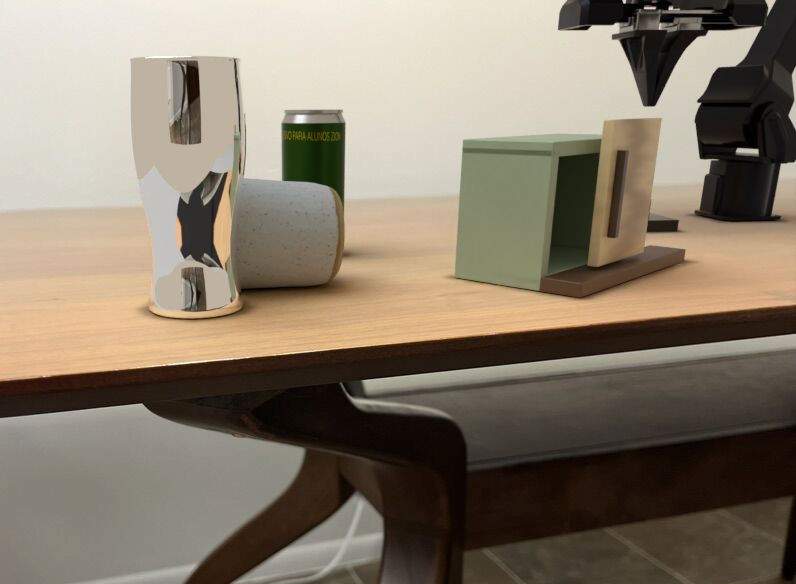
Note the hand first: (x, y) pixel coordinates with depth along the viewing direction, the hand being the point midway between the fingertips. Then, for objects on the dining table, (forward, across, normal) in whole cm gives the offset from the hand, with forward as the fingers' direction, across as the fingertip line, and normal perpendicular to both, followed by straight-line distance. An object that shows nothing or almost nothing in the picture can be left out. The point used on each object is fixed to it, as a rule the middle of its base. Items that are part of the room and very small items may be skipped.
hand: (649, 106), depth 83 cm
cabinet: (+12, -16, -22) cm, 30 cm away
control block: (+12, -3, -2) cm, 12 cm away
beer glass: (+12, -46, -32) cm, 57 cm away
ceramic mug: (+12, -40, -25) cm, 49 cm away
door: (+11, -14, -26) cm, 31 cm away
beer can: (+12, -36, -13) cm, 40 cm away
